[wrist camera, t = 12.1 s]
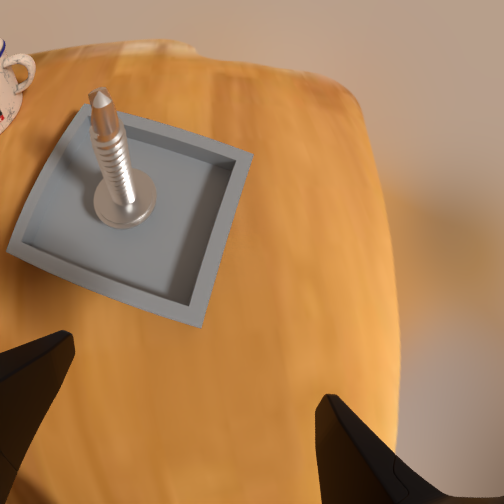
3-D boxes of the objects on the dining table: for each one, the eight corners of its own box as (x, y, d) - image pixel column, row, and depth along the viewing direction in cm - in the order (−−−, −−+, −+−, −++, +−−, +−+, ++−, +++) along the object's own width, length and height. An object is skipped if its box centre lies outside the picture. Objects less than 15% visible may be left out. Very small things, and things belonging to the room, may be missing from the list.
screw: (115, 173, 21) (166, 191, 22) (89, 224, 20) (143, 245, 21) (88, 50, 9) (176, 68, 10) (24, 123, 7) (117, 151, 8)
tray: (19, 258, 18) (5, 251, 15) (88, 119, 22) (84, 103, 20) (197, 327, 21) (201, 328, 19) (245, 168, 25) (253, 154, 23)
